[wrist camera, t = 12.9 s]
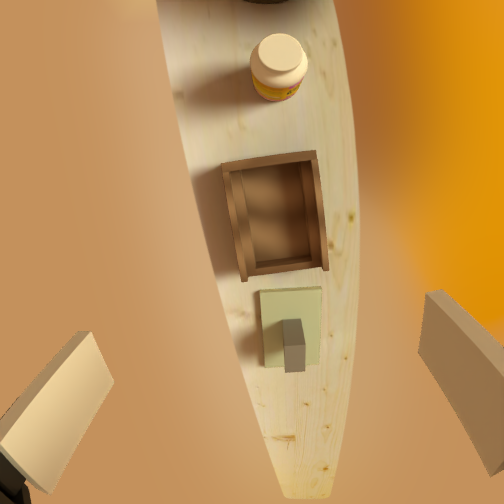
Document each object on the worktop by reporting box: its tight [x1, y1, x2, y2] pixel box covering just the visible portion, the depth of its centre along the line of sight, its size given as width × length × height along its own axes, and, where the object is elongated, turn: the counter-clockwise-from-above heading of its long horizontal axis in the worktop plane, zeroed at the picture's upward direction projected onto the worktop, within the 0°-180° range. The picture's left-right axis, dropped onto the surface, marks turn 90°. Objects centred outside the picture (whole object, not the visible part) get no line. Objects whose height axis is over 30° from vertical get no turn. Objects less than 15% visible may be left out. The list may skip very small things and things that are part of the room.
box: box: [221, 150, 329, 282], centre depth 41 cm, size 16×12×6 cm
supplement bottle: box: [250, 33, 308, 101], centre depth 32 cm, size 7×7×13 cm
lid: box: [260, 286, 322, 373], centre depth 46 cm, size 15×10×9 cm, turn 4°
